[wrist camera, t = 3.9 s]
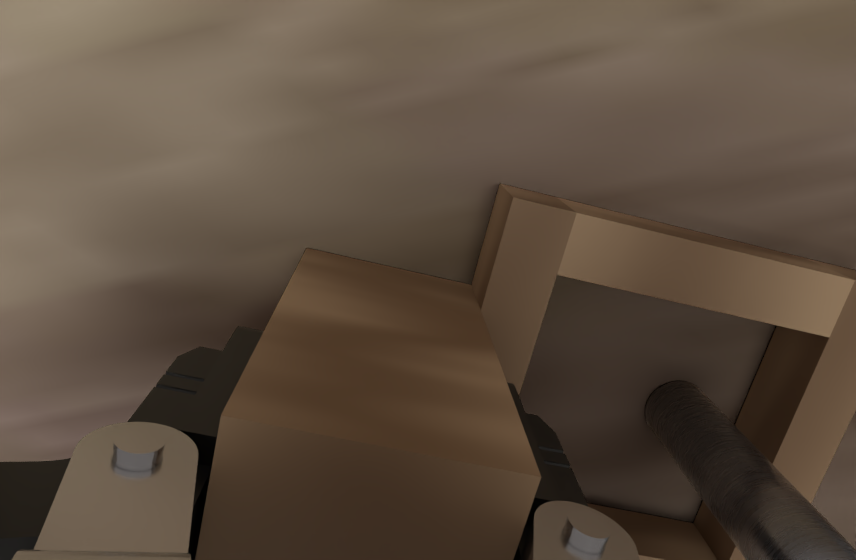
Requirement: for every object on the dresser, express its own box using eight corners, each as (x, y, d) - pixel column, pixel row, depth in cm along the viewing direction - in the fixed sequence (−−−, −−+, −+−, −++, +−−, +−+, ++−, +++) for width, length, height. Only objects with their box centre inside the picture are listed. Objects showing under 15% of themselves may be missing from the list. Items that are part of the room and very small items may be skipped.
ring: (855, 270, 14) (1260, 441, 8) (721, 571, 17) (943, 910, 10) (328, 141, 13) (256, 211, 6) (257, 487, 15) (150, 812, 8)
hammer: (736, 335, 15) (1222, 707, 6) (673, 489, 16) (1010, 988, 7) (676, 321, 14) (1089, 684, 6) (618, 478, 16) (892, 975, 7)
